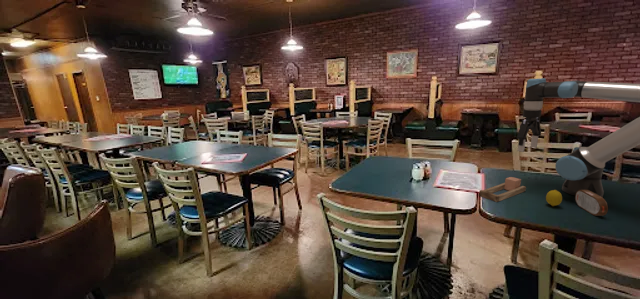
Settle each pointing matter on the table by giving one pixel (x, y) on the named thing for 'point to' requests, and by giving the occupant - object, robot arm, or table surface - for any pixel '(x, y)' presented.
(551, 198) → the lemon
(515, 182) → the block
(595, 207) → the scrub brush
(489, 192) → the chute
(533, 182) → the table surface
